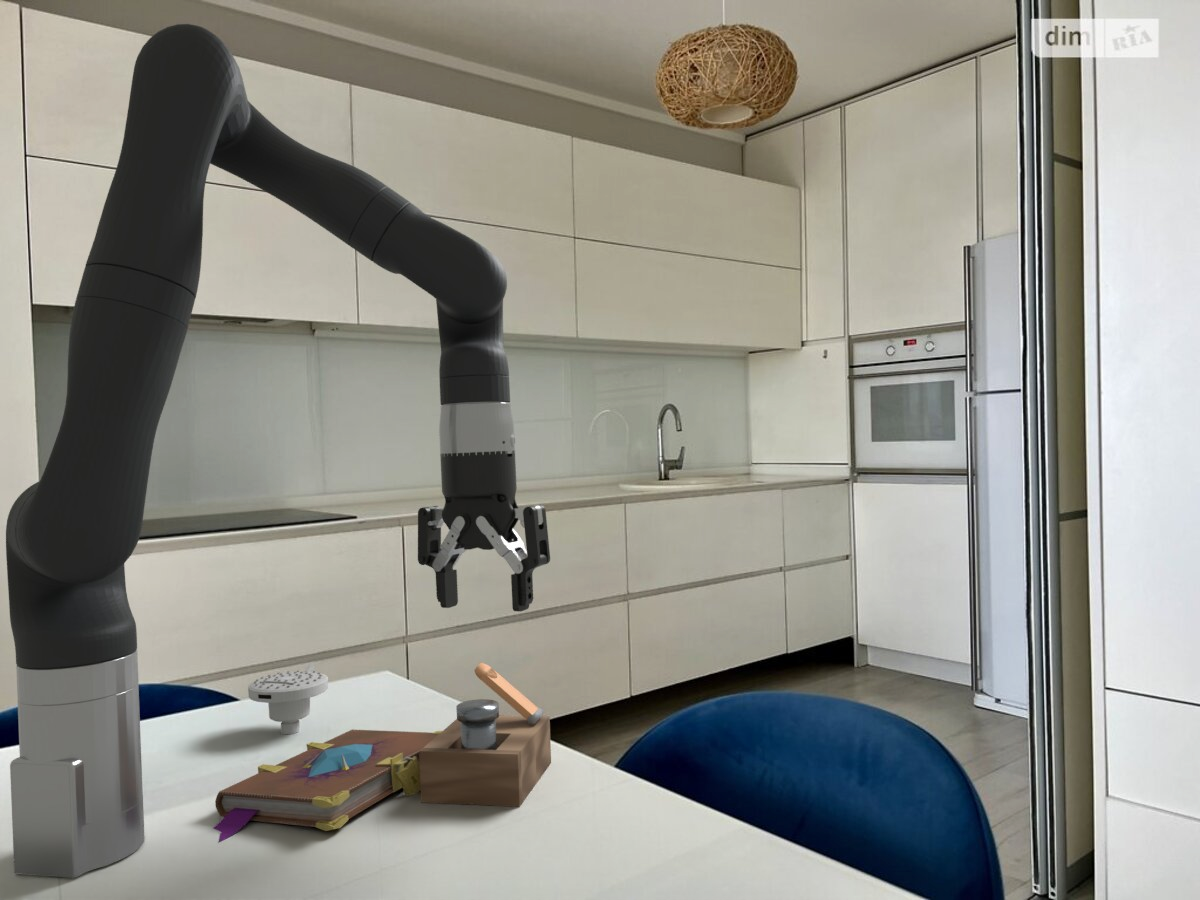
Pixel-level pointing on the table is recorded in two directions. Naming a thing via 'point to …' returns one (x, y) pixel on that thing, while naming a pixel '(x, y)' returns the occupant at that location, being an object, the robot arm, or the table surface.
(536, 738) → the block
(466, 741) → the pin
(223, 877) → the table surface
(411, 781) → the book
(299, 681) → the showerhead
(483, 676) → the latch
